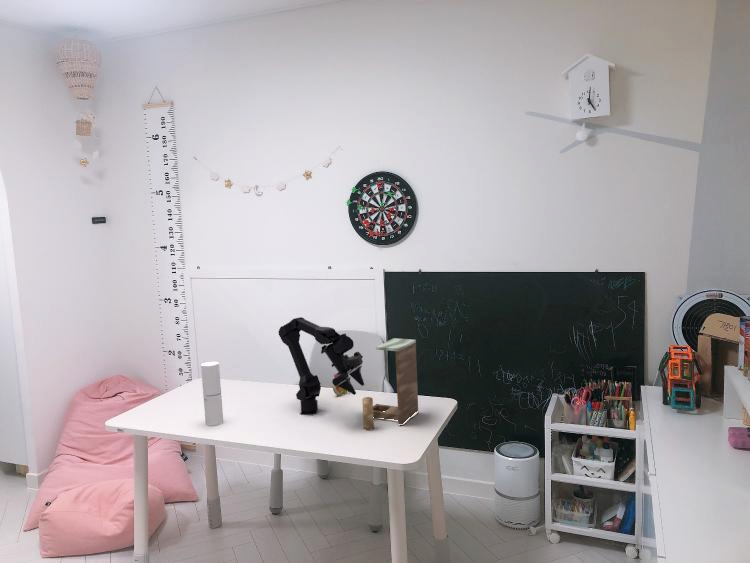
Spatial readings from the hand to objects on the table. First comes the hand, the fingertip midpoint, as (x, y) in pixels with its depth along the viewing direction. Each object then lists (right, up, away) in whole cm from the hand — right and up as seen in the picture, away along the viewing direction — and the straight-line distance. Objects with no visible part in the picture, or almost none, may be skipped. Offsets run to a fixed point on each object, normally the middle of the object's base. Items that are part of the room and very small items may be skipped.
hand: (359, 389), depth 241 cm
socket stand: (+13, -12, +6) cm, 18 cm away
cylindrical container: (-60, -15, +8) cm, 62 cm away
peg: (+4, -14, -6) cm, 16 cm away
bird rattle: (-10, -9, +38) cm, 40 cm away
